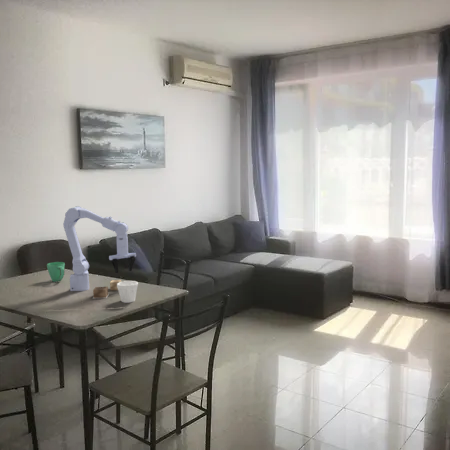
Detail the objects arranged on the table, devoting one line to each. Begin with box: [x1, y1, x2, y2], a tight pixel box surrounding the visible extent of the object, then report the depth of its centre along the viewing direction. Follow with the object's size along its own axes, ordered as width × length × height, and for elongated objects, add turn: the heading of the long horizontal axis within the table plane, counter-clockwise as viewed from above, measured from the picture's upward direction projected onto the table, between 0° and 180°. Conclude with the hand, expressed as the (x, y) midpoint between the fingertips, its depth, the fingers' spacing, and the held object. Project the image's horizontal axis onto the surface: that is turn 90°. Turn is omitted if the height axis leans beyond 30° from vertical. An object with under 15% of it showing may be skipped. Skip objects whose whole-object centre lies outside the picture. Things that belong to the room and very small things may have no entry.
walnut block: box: [92, 286, 109, 299], centre depth 254 cm, size 6×6×4 cm
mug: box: [46, 261, 66, 283], centre depth 291 cm, size 15×10×10 cm
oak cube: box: [109, 279, 122, 291], centre depth 268 cm, size 5×5×5 cm
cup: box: [117, 280, 139, 304], centre depth 244 cm, size 10×10×9 cm
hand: (123, 271), depth 268 cm, fingers open, 7 cm apart
